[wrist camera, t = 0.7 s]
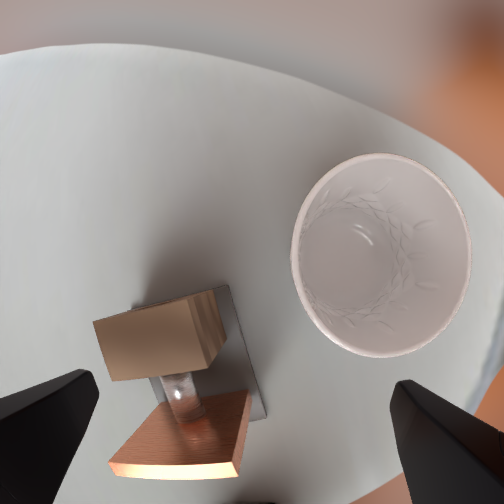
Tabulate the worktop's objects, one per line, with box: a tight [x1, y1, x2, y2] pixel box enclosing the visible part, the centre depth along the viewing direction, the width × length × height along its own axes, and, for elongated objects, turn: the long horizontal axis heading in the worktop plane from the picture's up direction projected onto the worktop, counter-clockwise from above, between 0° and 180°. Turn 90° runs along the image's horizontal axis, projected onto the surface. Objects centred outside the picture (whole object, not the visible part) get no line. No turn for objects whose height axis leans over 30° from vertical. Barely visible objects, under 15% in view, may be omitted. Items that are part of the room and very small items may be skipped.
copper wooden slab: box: [108, 371, 252, 479], centre depth 15 cm, size 5×7×9 cm
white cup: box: [290, 153, 472, 358], centre depth 15 cm, size 8×8×10 cm
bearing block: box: [93, 285, 267, 422], centre depth 17 cm, size 10×8×7 cm
